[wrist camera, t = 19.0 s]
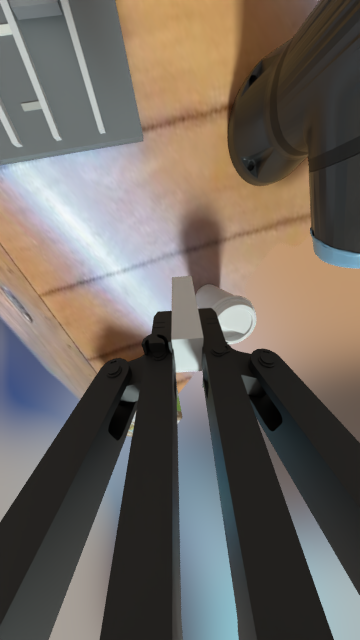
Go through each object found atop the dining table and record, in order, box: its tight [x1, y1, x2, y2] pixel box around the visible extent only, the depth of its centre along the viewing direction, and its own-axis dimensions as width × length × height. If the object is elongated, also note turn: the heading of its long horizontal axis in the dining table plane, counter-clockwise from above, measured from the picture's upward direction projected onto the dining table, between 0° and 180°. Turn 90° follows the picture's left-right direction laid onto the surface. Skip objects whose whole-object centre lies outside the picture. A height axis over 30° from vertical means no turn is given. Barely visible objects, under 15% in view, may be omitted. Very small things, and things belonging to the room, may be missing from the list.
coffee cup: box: [195, 284, 256, 344], centre depth 35 cm, size 10×10×15 cm
